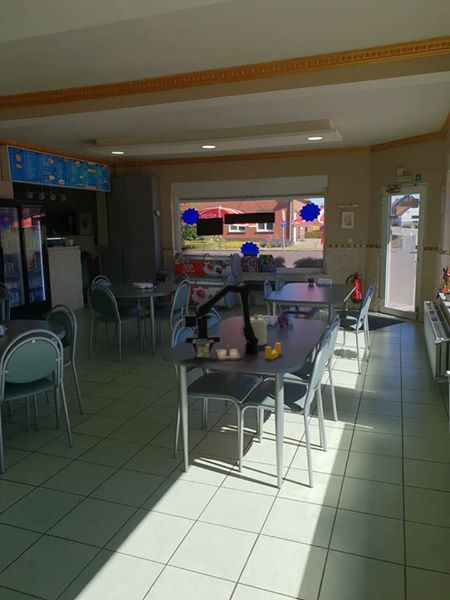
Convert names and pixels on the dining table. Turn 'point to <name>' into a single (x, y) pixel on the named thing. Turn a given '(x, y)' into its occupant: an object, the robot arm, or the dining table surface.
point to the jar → (259, 329)
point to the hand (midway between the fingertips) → (202, 354)
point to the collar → (202, 350)
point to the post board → (228, 354)
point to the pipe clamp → (276, 351)
